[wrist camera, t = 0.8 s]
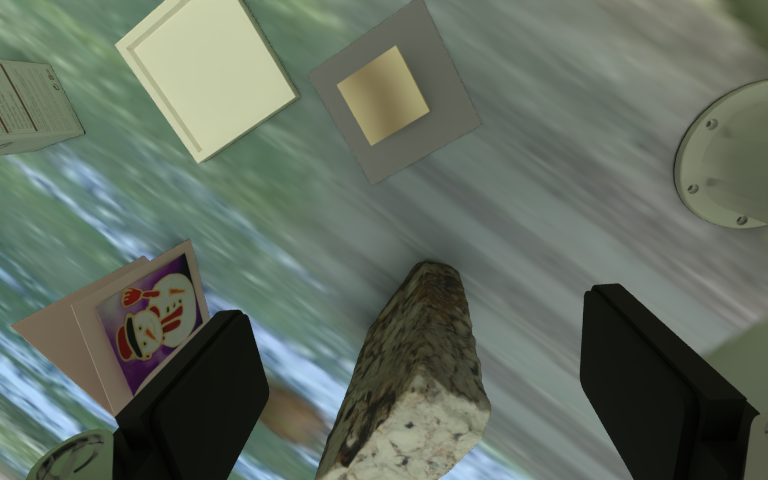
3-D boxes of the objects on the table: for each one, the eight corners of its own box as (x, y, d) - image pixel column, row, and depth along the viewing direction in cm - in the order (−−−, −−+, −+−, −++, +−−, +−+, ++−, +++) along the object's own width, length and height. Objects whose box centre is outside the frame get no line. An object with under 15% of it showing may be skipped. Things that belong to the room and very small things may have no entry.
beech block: (404, 58, 33) (395, 45, 26) (430, 109, 34) (429, 111, 27) (357, 88, 34) (336, 84, 27) (384, 137, 36) (371, 146, 28)
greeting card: (217, 324, 46) (124, 419, 32) (164, 323, 47) (51, 414, 33) (197, 238, 42) (80, 305, 29) (138, 239, 44) (-1, 303, 30)
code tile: (420, -4, 31) (420, -5, 31) (481, 124, 34) (482, 124, 34) (307, 74, 35) (307, 74, 35) (372, 185, 38) (371, 185, 37)
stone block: (411, 359, 44) (394, 543, 26) (359, 333, 44) (305, 500, 26) (470, 273, 40) (502, 424, 21) (413, 243, 39) (395, 369, 21)
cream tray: (222, -36, 33) (212, -42, 31) (301, 97, 36) (295, 96, 34) (127, 47, 36) (114, 44, 35) (206, 161, 39) (197, 163, 38)
